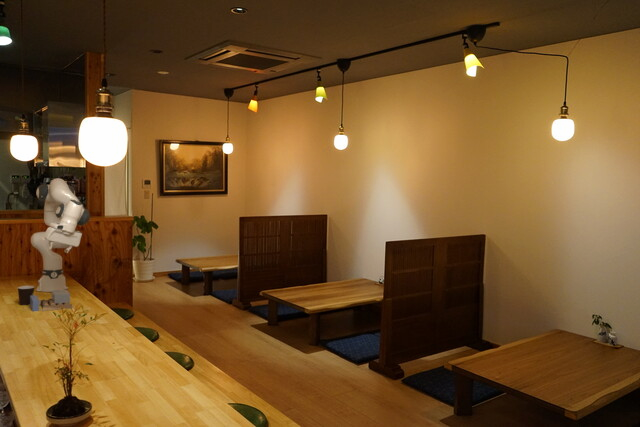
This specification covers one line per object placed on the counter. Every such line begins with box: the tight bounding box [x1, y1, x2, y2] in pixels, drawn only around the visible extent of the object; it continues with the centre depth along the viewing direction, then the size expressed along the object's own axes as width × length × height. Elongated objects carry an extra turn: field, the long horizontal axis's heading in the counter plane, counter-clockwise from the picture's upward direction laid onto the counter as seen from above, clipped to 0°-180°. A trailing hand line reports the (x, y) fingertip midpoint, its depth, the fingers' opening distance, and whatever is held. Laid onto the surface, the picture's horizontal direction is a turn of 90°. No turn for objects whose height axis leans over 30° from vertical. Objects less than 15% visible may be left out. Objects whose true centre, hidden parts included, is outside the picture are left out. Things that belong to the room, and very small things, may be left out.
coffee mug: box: [17, 285, 35, 306], centre depth 297 cm, size 12×9×10 cm
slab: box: [50, 289, 71, 304], centre depth 295 cm, size 12×8×5 cm, turn 36°
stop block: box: [29, 294, 40, 312], centre depth 287 cm, size 14×3×6 cm, turn 36°
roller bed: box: [39, 298, 73, 312], centre depth 294 cm, size 18×15×3 cm
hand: (58, 251), depth 284 cm, fingers open, 8 cm apart
